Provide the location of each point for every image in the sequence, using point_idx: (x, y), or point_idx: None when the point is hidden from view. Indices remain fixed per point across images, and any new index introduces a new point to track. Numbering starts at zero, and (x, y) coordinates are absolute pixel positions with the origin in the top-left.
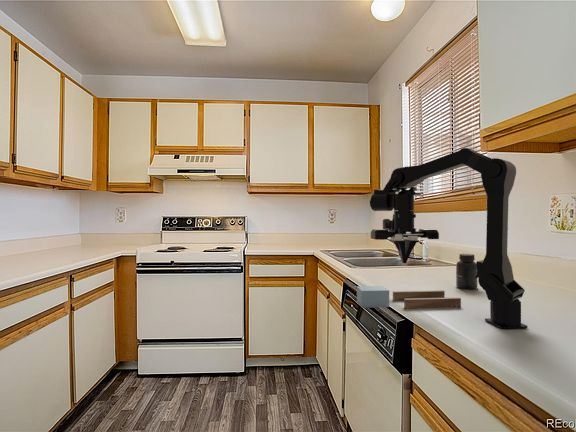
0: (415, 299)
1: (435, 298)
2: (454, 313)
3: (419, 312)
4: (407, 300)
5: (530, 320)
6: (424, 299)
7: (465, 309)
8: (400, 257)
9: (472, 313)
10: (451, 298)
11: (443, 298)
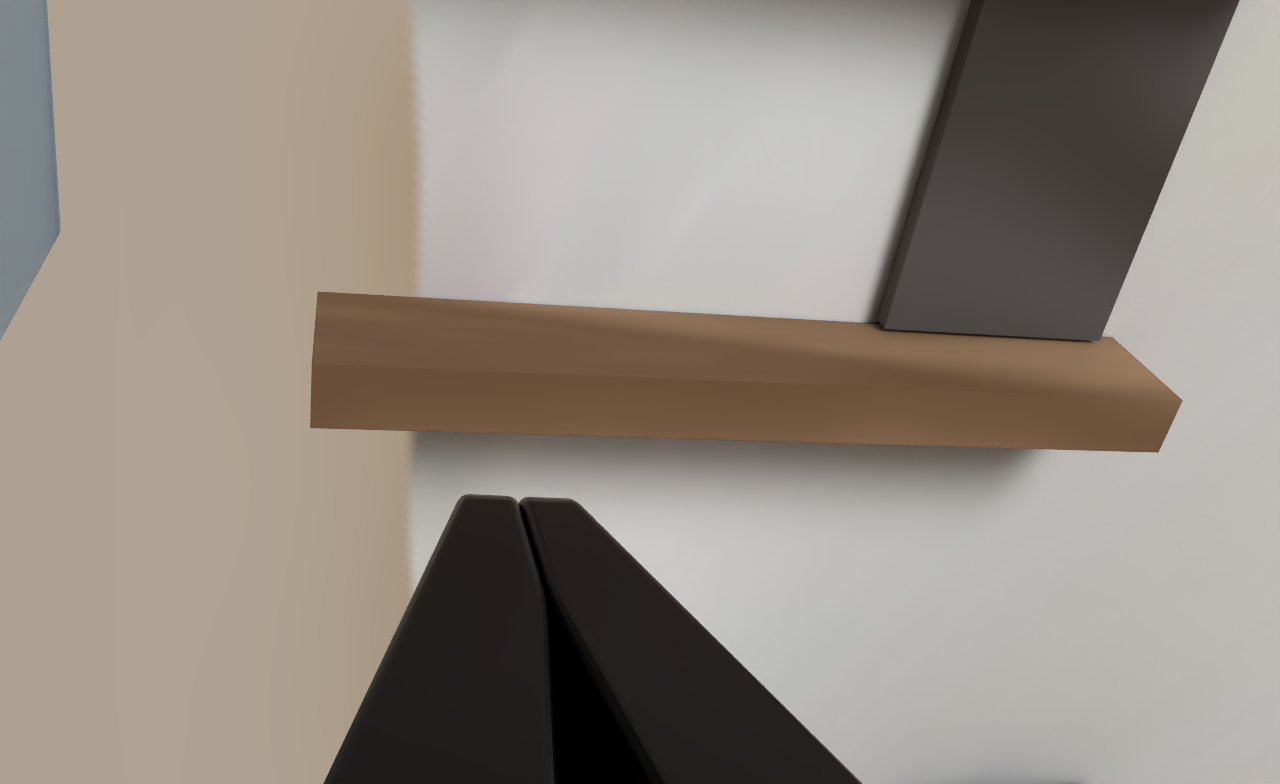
0: (483, 429)
1: (826, 418)
2: (810, 590)
3: (422, 527)
4: (339, 422)
5: (1240, 780)
6: (632, 434)
7: (1056, 471)
8: (405, 618)
9: (990, 602)
10: (1042, 440)
11: (935, 432)
